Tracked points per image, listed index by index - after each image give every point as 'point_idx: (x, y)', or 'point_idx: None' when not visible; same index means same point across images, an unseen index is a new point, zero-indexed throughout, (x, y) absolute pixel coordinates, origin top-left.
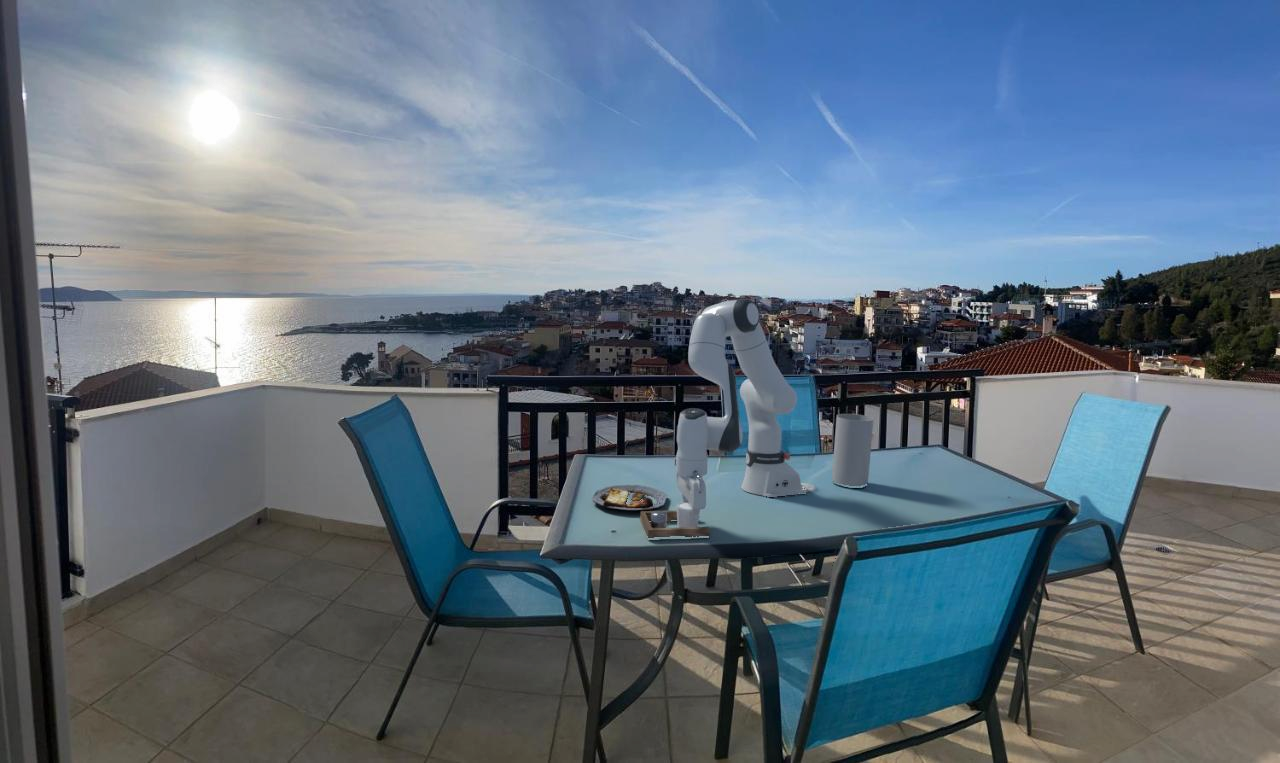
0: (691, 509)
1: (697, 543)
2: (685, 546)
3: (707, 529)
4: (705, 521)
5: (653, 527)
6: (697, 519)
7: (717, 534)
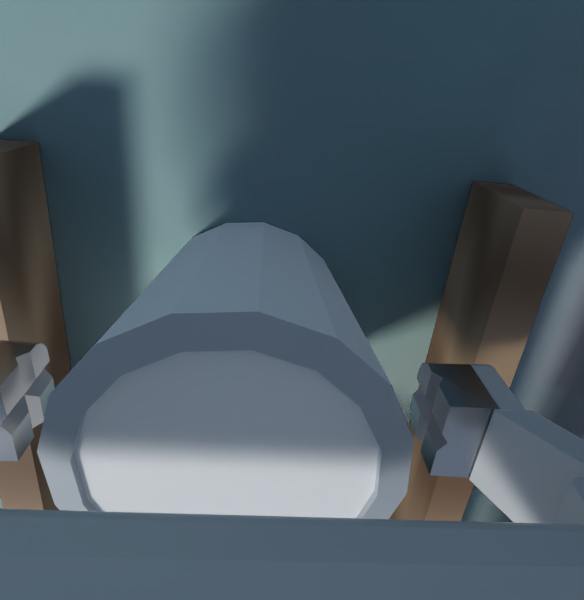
0: (387, 477)
1: (557, 315)
2: (566, 407)
3: (557, 236)
4: (41, 49)
5: None
6: (490, 369)
7: (440, 51)
